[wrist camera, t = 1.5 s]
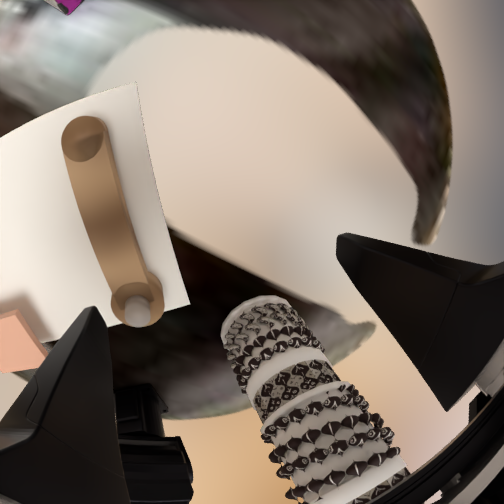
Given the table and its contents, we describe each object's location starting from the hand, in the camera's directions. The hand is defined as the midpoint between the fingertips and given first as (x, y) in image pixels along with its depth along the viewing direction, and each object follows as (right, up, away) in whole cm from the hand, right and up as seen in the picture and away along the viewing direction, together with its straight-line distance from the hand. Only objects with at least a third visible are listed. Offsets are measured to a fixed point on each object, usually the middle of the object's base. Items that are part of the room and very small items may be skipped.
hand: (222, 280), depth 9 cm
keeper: (-23, -6, +10) cm, 26 cm away
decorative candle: (+2, -7, +20) cm, 21 cm away
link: (-9, +3, +9) cm, 14 cm away
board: (-17, +1, +8) cm, 19 cm away
